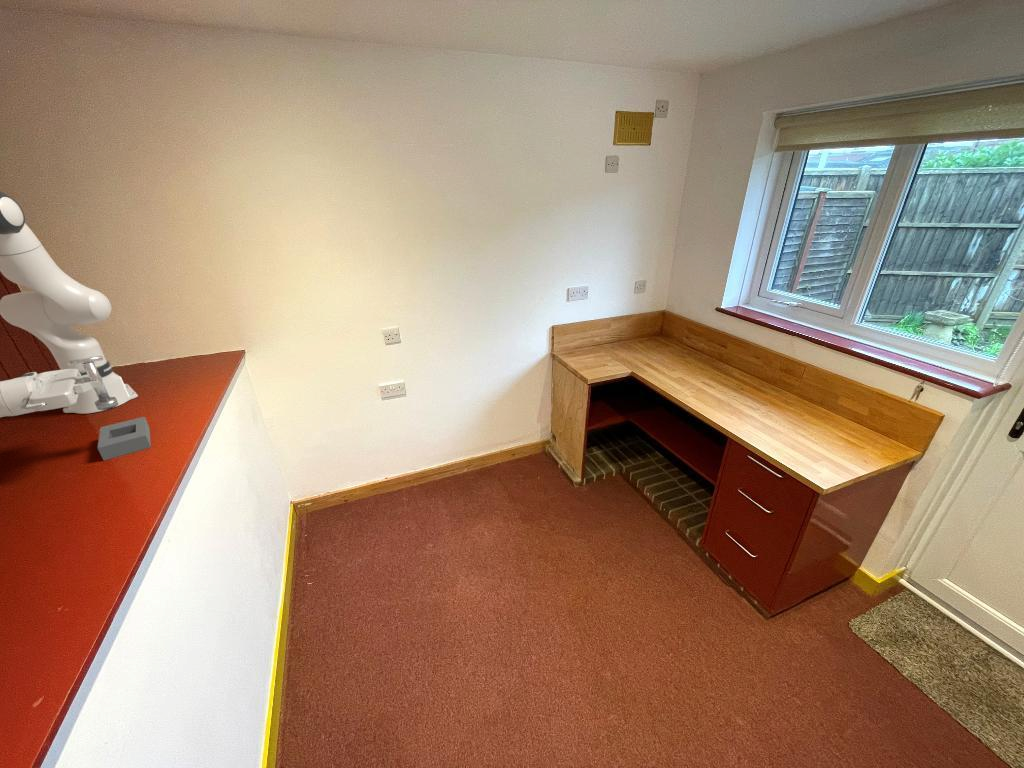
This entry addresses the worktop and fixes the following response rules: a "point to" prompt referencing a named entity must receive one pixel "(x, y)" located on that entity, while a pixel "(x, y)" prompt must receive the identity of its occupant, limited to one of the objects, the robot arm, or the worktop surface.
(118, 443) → the grey block with hole
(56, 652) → the worktop surface
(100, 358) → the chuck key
